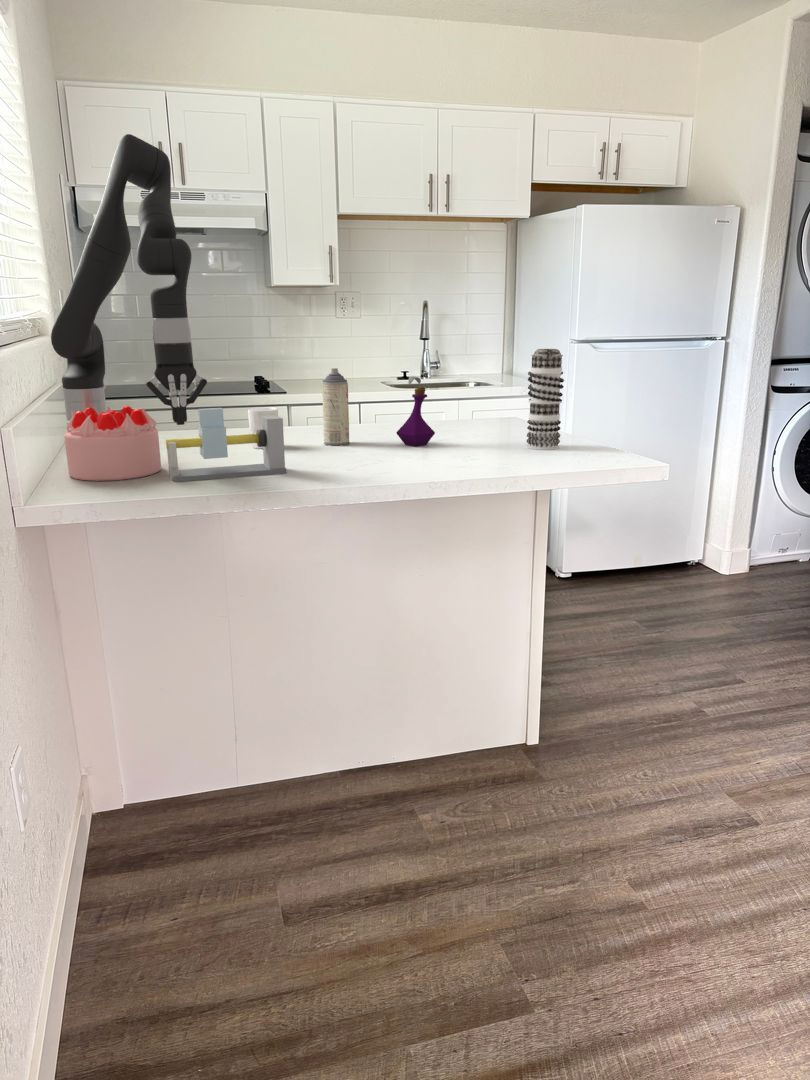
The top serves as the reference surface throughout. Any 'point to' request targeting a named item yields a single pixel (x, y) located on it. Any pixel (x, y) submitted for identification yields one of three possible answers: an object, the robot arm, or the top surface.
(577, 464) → the top surface
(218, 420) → the sleeve
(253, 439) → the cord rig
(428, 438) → the perfume bottle
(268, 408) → the white cup
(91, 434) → the cake
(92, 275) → the robot arm
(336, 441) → the aerosol can
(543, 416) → the decorative candle
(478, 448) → the top surface
